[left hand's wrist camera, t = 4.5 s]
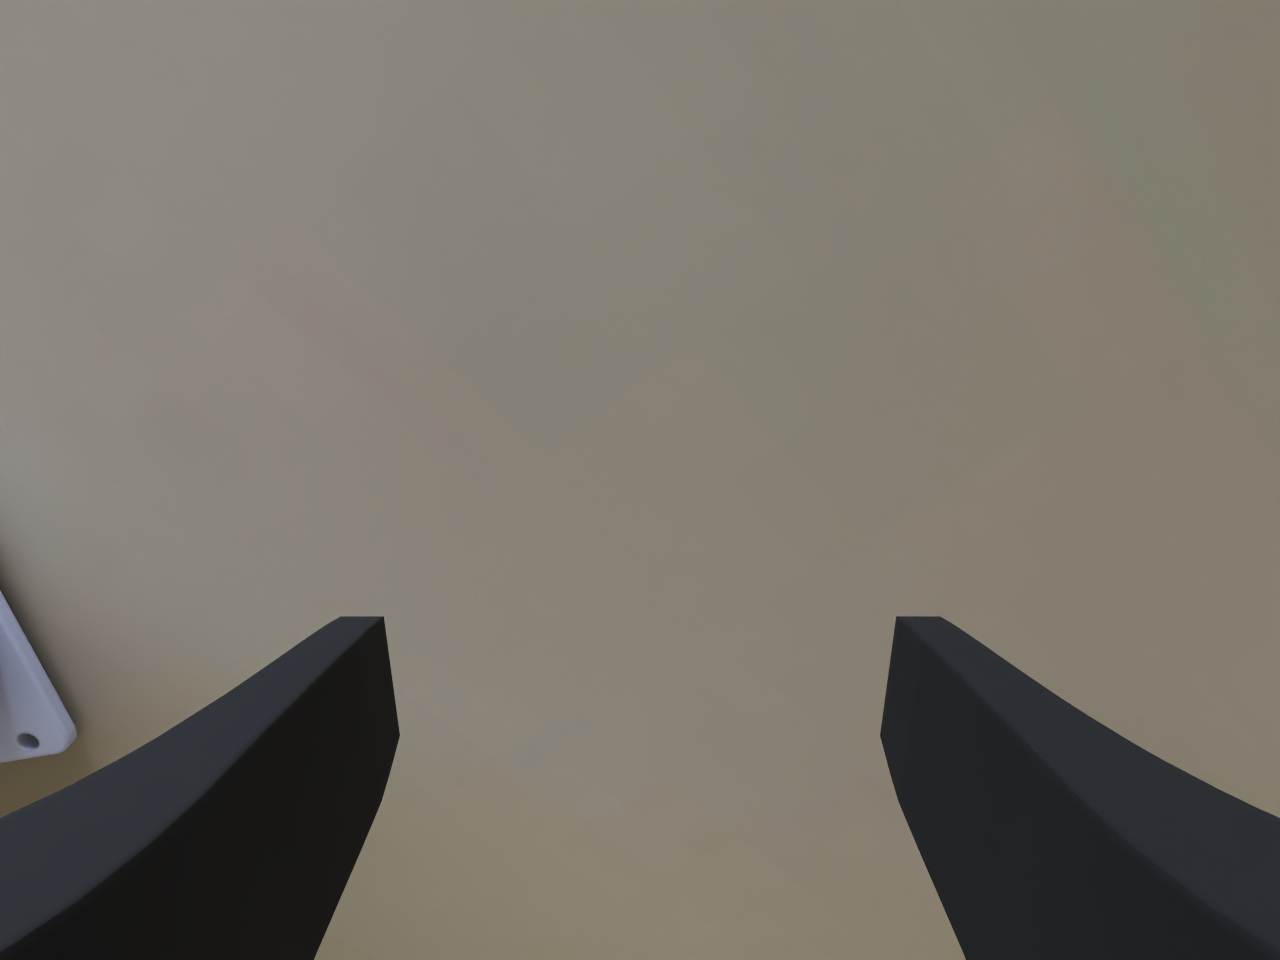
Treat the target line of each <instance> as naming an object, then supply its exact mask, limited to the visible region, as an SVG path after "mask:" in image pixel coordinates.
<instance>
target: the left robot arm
mask: <svg viewBox="0 0 1280 960" xmlns="http://www.w3.org/2000/svg"><path fill="white" fill-rule="evenodd" d="M32 735H33V736H35V737H36V738H37V739H36V738H34V737H33V736H32ZM399 736H400V734H399V726H398V719H397V711H396V704H395V697H394V689H393V682H392V675H391V667H390V660H389V652H388V645H387V638H386V630H385V623H384V617H339V618H337V619H335V620H334V621H332V622H330V623H329V624H327V625H326V626H324V627H322V628H321V629H319V630H318V631H316V632H315V633H313V634H312V635H311V636H309V637H308V638H306V639H305V640H303V641H302V642H300V643H299V644H298V645H296V646H295V647H293V648H292V649H290V650H289V651H288V652H286V653H285V654H283V655H282V656H280V657H279V658H278V659H276V660H275V661H273V662H272V663H270V664H269V665H267V666H266V667H265V668H263V669H262V670H260V671H259V672H257V673H256V674H254V675H253V676H251V677H250V678H249V679H247V680H246V681H244V682H243V683H241V684H240V685H238V686H237V687H236V688H234V689H233V690H231V691H230V692H228V693H227V694H225V695H224V696H222V697H220V698H219V699H217V700H216V701H214V702H213V703H211V704H209V705H208V706H206V707H205V708H203V709H201V710H200V711H198V712H197V713H195V714H194V715H192V716H190V717H189V718H187V719H186V720H184V721H183V722H181V723H179V724H178V725H176V726H175V727H173V728H171V729H170V730H168V731H167V732H165V733H164V734H162V735H160V736H159V737H157V738H155V739H154V740H152V741H150V742H149V743H147V744H145V745H144V746H142V747H140V748H138V749H137V750H135V751H133V752H131V753H129V754H128V755H126V756H124V757H122V758H121V759H119V760H117V761H115V762H113V763H111V764H110V765H108V766H106V767H104V768H102V769H100V770H98V771H96V772H94V773H93V774H91V775H89V776H87V777H85V778H83V779H81V780H79V781H77V782H76V783H74V784H72V785H70V786H68V787H66V788H64V789H62V790H60V791H58V792H56V793H54V794H52V795H49V796H47V797H45V798H43V799H41V800H39V801H36V802H34V803H32V804H30V805H28V806H26V807H23V808H21V809H19V810H17V811H15V812H13V813H10V814H8V815H6V816H4V817H2V818H0V960H314V958H315V955H316V953H317V951H318V948H319V946H320V944H321V941H322V939H323V937H324V935H325V932H326V930H327V928H328V925H329V923H330V921H331V918H332V916H333V914H334V911H335V909H336V907H337V904H338V902H339V900H340V898H341V895H342V893H343V891H344V888H345V886H346V884H347V881H348V879H349V877H350V874H351V872H352V870H353V867H354V865H355V863H356V861H357V858H358V856H359V854H360V851H361V849H362V847H363V844H364V842H365V839H366V837H367V835H368V832H369V830H370V828H371V825H372V823H373V821H374V818H375V816H376V813H377V811H378V808H379V806H380V803H381V801H382V798H383V794H384V791H385V788H386V784H387V781H388V777H389V774H390V770H391V767H392V763H393V759H394V755H395V752H396V748H397V744H398V740H399ZM880 736H881V740H882V744H883V748H884V752H885V755H886V759H887V763H888V767H889V770H890V774H891V777H892V781H893V784H894V788H895V791H896V794H897V798H898V801H899V803H900V806H901V808H902V811H903V813H904V816H905V818H906V821H907V823H908V825H909V828H910V830H911V832H912V835H913V837H914V839H915V842H916V844H917V847H918V849H919V851H920V854H921V856H922V858H923V861H924V863H925V865H926V867H927V870H928V872H929V874H930V877H931V879H932V881H933V884H934V886H935V888H936V891H937V893H938V895H939V898H940V900H941V902H942V904H943V907H944V909H945V911H946V914H947V916H948V918H949V921H950V923H951V925H952V928H953V930H954V932H955V935H956V937H957V939H958V941H959V944H960V946H961V948H962V951H963V953H964V955H965V958H966V960H1280V818H1278V817H1276V816H1274V815H1272V814H1269V813H1267V812H1265V811H1263V810H1260V809H1258V808H1256V807H1254V806H1252V805H1250V804H1248V803H1246V802H1244V801H1242V800H1239V799H1237V798H1235V797H1233V796H1231V795H1229V794H1227V793H1225V792H1223V791H1221V790H1219V789H1217V788H1215V787H1213V786H1211V785H1209V784H1208V783H1206V782H1204V781H1202V780H1200V779H1198V778H1196V777H1194V776H1192V775H1190V774H1188V773H1187V772H1185V771H1183V770H1181V769H1179V768H1177V767H1175V766H1173V765H1171V764H1169V763H1167V762H1166V761H1164V760H1162V759H1160V758H1158V757H1157V756H1155V755H1153V754H1151V753H1149V752H1148V751H1146V750H1144V749H1142V748H1141V747H1139V746H1137V745H1135V744H1134V743H1132V742H1130V741H1129V740H1127V739H1125V738H1124V737H1122V736H1120V735H1119V734H1117V733H1116V732H1114V731H1112V730H1111V729H1109V728H1107V727H1106V726H1104V725H1102V724H1101V723H1099V722H1098V721H1096V720H1094V719H1093V718H1091V717H1089V716H1088V715H1086V714H1085V713H1083V712H1082V711H1080V710H1078V709H1077V708H1075V707H1074V706H1072V705H1071V704H1069V703H1068V702H1066V701H1064V700H1063V699H1061V698H1060V697H1058V696H1057V695H1055V694H1054V693H1052V692H1051V691H1049V690H1048V689H1046V688H1045V687H1044V686H1042V685H1041V684H1039V683H1038V682H1036V681H1035V680H1033V679H1032V678H1030V677H1029V676H1027V675H1026V674H1024V673H1023V672H1022V671H1020V670H1019V669H1017V668H1016V667H1014V666H1013V665H1012V664H1010V663H1009V662H1007V661H1006V660H1004V659H1003V658H1002V657H1000V656H999V655H997V654H996V653H994V652H993V651H992V650H990V649H989V648H987V647H986V646H984V645H983V644H981V643H980V642H979V641H977V640H976V639H974V638H973V637H971V636H970V635H968V634H967V633H965V632H964V631H962V630H961V629H959V628H958V627H956V626H955V625H953V624H952V623H950V622H948V621H947V620H945V619H943V618H942V617H896V623H895V630H894V638H893V645H892V652H891V660H890V667H889V675H888V682H887V689H886V697H885V704H884V711H883V719H882V726H881V734H880ZM76 737H77V730H76V727H75V725H74V723H73V721H72V719H71V718H70V716H69V714H68V712H67V710H66V709H65V707H64V705H63V703H62V701H61V700H60V698H59V696H58V694H57V692H56V690H55V689H54V687H53V685H52V683H51V681H50V680H49V678H48V676H47V674H46V672H45V670H44V669H43V667H42V665H41V663H40V661H39V660H38V658H37V656H36V654H35V652H34V651H33V649H32V647H31V645H30V643H29V641H28V640H27V638H26V636H25V634H24V632H23V631H22V629H21V627H20V625H19V623H18V621H17V620H16V618H15V616H14V614H13V612H12V611H11V609H10V607H9V605H8V603H7V602H6V600H5V598H4V596H3V594H2V592H1V591H0V763H3V762H10V761H16V760H22V759H28V758H34V757H41V756H47V755H53V754H58V753H61V752H64V751H65V750H66V749H67V748H68V747H69V746H70V745H71V744H72V743H73V742H74V741H75V740H76Z"/></svg>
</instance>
